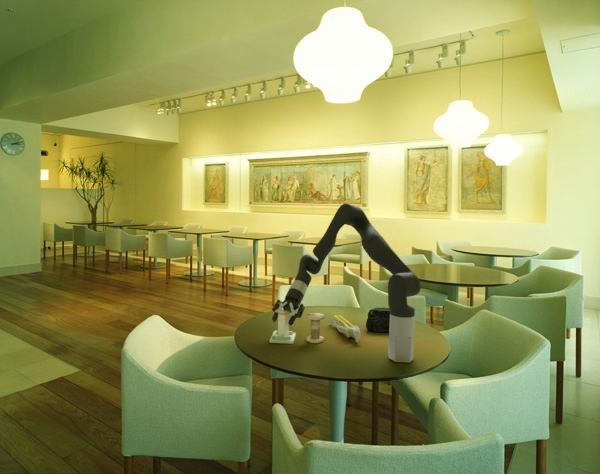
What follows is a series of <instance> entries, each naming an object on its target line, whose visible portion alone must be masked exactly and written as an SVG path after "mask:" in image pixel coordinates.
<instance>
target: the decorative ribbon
mask: <svg viewBox="0 0 600 474" xmlns="http://www.w3.org/2000/svg"><path fill="white" fill-rule="evenodd" d="M335 318H336V319H337V320H336V319H335ZM347 323H348V324H347ZM333 324H334V327H335V328H336V329H337V331H338V332H339V333H340V334H341V335H343V336H344V337H346V338H353V339H355V342H356V343H358V342H359V340H360V338H361V335H362V334H361V329H360V328H359V326H357V325H354V324H352V323H351V322H350V321H349V320H347V319H346V318H345V317H344V316H342V315H340V314H339V315H338V314H337V315H336V314H333V316H331V318H330V321H329V325H330V326H332V325H333Z"/></svg>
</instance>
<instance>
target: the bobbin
mask: <svg viewBox="0 0 600 474" xmlns="http://www.w3.org/2000/svg"><path fill="white" fill-rule="evenodd" d="M306 319H309V320H310V335H308V336H306V339H305V341H306V342H308V343H311V344H320V343H321V344H322V343H323V342H324V341H325V338H324V336H321V335H320V334H321V321H322V320H324V319H325V314H323V313H319V312H310V313H307V314H306Z"/></svg>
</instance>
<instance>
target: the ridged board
mask: <svg viewBox="0 0 600 474" xmlns="http://www.w3.org/2000/svg"><path fill="white" fill-rule="evenodd" d="M296 335H297V333H296V332H294V331H293V330H292V331H291V330H289V336H278V329H277V330H274V331H273V332H272V335H271V336H270V339H269V343H271V344H291V345H292V344H294V342H295V339H296V337H297V336H296Z"/></svg>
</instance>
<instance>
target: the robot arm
mask: <svg viewBox="0 0 600 474" xmlns="http://www.w3.org/2000/svg"><path fill="white" fill-rule="evenodd" d="M345 225H347V226H351V228H353V229H354V230H355V231H356V232H357V233H358V234H359V237H360V239H361V245H362V248H363V250H364V251H365V253H366V254H367V256H368V257H369V258H370V259H371V260H372V261H373V262H374V263H375V264H377V265H378V266H380V267H382V268H383V269H385V270H387V272H389V273H390V274H391V275H390V277H389V279H388V283H387V303H388V304H387V305H388V308H390V325H389V332H388V352H387V353H388V359H390V360H392V361H393V362H394V363H410V364H411V362H412V361H413V360H414V359H413V358H414V335H415V319H416V318H415V317H416V315H415V314H416V313H415V311H416V310H415V308H414V307H413V306H412V305H408V298H409V297H413V296H417V295H418V294H419V293H420V291H421V288H422V286H421V281H420V279H419V277H418V276H417V275H416V274H415V272H414V271H412V269H411V268H410V267H408V265H406V263H404V262H403V260H402V259H401V258H400V257H399V255H397V253H396V252H395V251H394V250H393V249H392V248H391V246H390V245H389V243H388V242H387V241H386V239H385V238H384V237H383V236H382V235H381V234H380V233H379V231H378V230H377V229H376V228H375V227H374V225H373V224H372V223H371V221H370V220H369V218H368V216H367V215H366V214H365V212H364V210H363V209H362V208H361V207H360V206H358V205H354V204H351V203H343V204H341V205H340V206H339V207H338V209H336V212H335V213H334V215H333V217H332V219H331V221H330V223H329V224H328V227H327V229H326V231H325V232H324V234H323V235H322V237H321V238H320V240H319V241H318V242H317V243H316V245H315V246H314V247H313V249H312V253H313V255H314V256H315V257H316V258H317V259H316V258H315V257H313V256H312V255H310V254H308V253H307V254H303V255H302V257H301V258H300V260H299V264H298V271H297V274H296V276H295V278H294V280H293V281H292V283H291V285H290V287H289V288H288V291H287V292H286V294H285V297H284V300H283V301H281V300H280V299H277V300H276V303H275V304H274V305H273V307H272V309H271V310H272V312H273V316H272V317H271V321H272V322H274V323H277V321H278V312H279V311H282V310H284V311H289V314H292V315H291V316H290V317H289V322H288V324H289V327H291V326H292V325H293V324H294V323H295V321H296V319H301V318H302V316H303V314H304V311H305V305H304V303H302V301H303V299H304V297H305V295H306V293H307V291H308V288H309V285H310V284H311V282H312V276H311V274H312V275H317V274H318V273H320V272H321V270H322V267H323V263H324V262H325V260H326V258H327V257H328V256H329V254H330V253H331V252H332V250H333V249H334V247H335V245H336V242H337V236H338V233H339V232H340V230H341V229H342V228H343V227H344V226H345Z"/></svg>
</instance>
